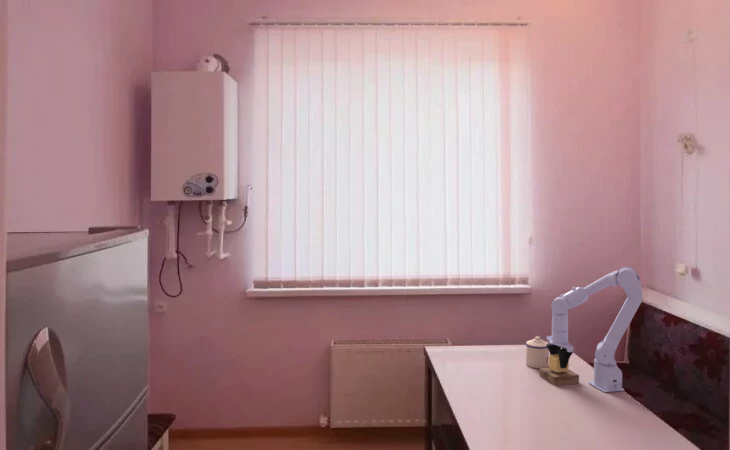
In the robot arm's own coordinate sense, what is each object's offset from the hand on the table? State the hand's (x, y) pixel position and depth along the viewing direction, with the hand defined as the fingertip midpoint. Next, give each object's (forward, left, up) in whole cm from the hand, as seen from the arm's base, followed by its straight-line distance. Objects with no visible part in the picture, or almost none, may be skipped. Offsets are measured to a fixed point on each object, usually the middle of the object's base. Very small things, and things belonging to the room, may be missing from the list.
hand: (559, 365), depth 200 cm
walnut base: (0, 0, -5) cm, 5 cm away
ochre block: (0, 0, -2) cm, 2 cm away
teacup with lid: (+18, -1, -6) cm, 19 cm away
